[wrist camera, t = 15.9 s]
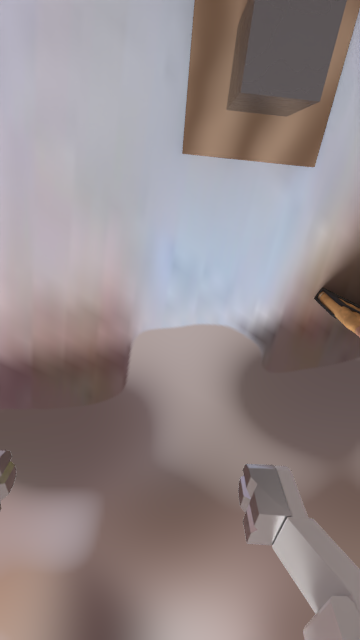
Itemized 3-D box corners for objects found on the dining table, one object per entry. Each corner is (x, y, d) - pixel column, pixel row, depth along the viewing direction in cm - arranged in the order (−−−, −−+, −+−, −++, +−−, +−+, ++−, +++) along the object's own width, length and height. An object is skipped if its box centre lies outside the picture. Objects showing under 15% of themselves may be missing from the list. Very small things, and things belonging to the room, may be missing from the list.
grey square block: (226, 110, 27) (240, 92, 21) (237, 24, 24) (259, -28, 18) (286, 116, 27) (320, 101, 21) (305, 32, 24) (351, -16, 18)
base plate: (182, 153, 30) (182, 153, 29) (197, -40, 23) (199, -52, 22) (308, 166, 31) (314, 166, 29) (359, -19, 24) (370, -29, 23)
